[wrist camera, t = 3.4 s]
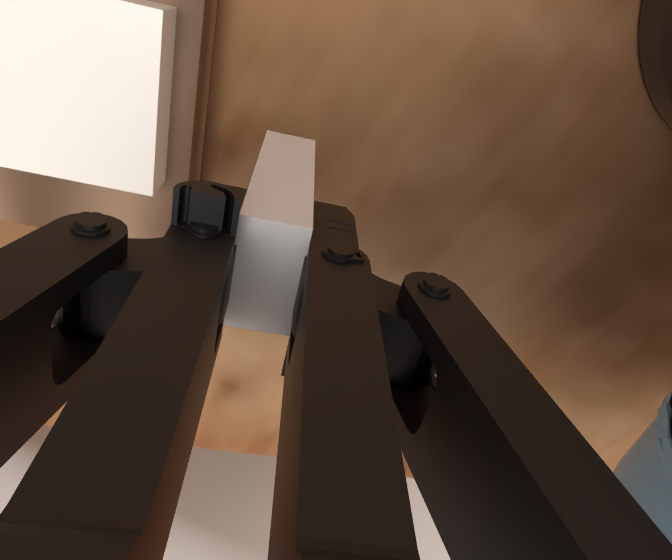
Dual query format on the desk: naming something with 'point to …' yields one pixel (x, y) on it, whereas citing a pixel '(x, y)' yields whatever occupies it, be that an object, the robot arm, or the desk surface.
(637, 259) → the desk surface
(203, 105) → the deck
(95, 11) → the tile
